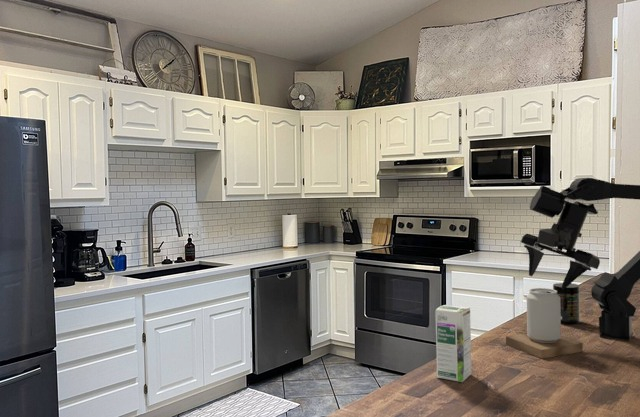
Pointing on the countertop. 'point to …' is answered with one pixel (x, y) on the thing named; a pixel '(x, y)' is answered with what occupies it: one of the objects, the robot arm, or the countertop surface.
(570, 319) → the supplement container
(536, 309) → the can
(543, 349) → the tan board
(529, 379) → the countertop surface
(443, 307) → the syrup box
